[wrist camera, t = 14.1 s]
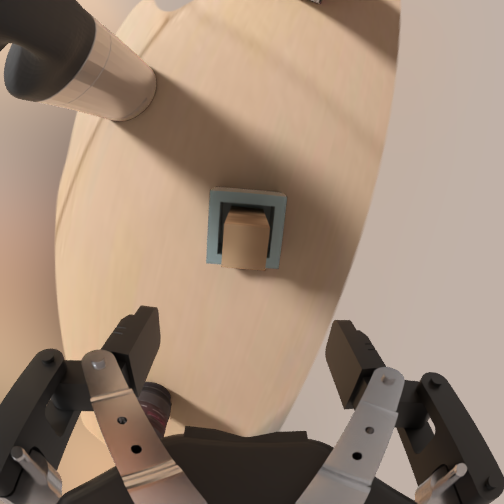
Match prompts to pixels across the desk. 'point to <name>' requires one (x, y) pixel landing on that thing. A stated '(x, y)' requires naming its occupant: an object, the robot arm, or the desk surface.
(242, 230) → the tan wooden block
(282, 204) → the slate open square box
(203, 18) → the desk surface
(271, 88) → the desk surface
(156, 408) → the camera lens
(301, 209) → the desk surface
